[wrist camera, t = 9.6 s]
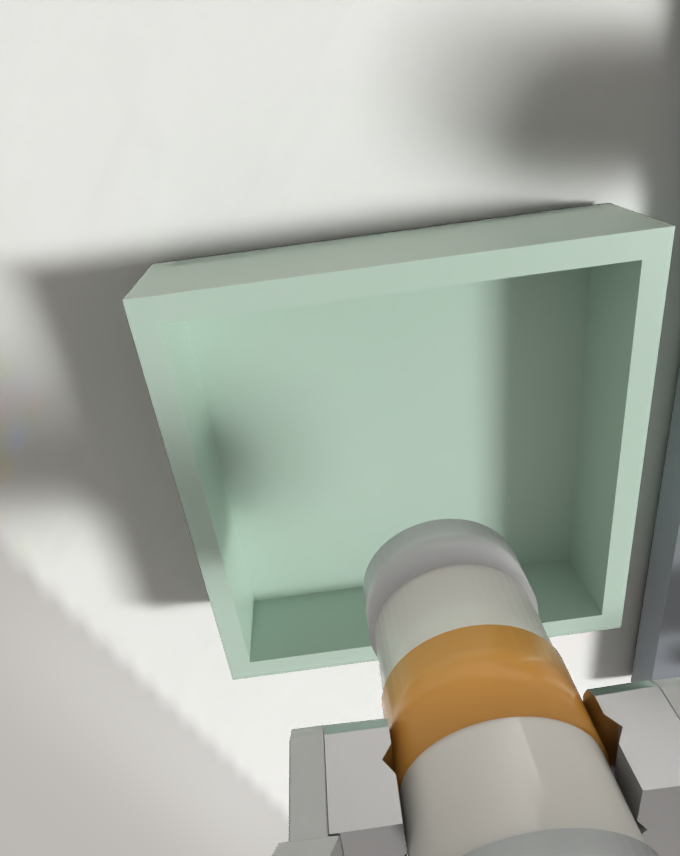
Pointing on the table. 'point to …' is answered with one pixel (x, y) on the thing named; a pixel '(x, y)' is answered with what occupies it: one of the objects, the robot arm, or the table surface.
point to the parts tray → (406, 413)
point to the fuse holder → (663, 574)
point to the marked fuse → (484, 706)
